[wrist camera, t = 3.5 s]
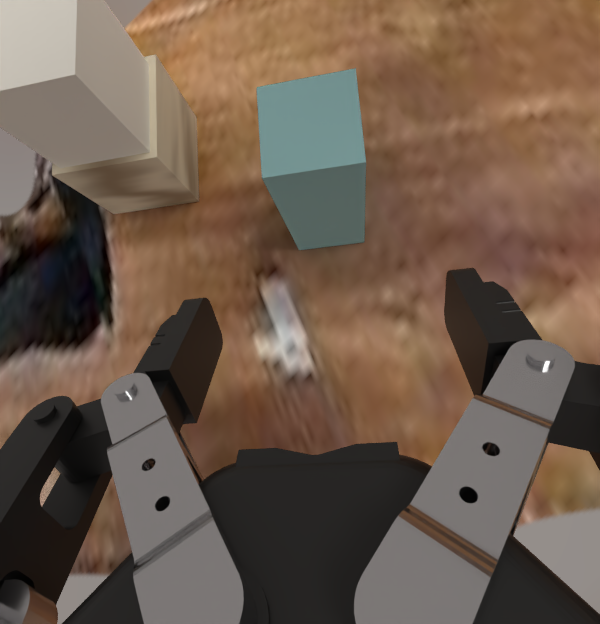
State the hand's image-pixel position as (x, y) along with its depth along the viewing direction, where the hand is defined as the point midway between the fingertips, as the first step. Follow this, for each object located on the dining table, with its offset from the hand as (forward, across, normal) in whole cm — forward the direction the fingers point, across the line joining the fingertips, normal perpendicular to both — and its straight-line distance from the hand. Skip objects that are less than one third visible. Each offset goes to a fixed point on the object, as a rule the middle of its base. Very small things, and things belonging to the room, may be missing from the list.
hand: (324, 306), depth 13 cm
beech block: (+19, +13, -2) cm, 23 cm away
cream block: (+15, +13, -6) cm, 21 cm away
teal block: (+15, 0, +3) cm, 15 cm away
